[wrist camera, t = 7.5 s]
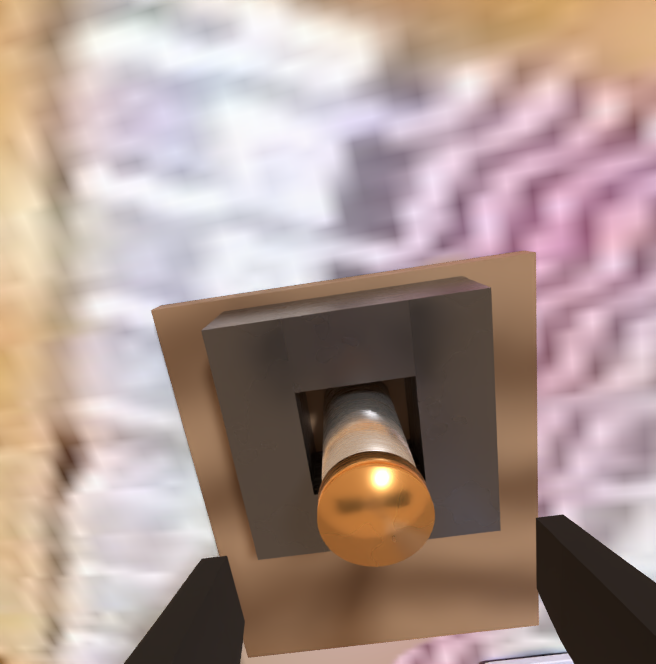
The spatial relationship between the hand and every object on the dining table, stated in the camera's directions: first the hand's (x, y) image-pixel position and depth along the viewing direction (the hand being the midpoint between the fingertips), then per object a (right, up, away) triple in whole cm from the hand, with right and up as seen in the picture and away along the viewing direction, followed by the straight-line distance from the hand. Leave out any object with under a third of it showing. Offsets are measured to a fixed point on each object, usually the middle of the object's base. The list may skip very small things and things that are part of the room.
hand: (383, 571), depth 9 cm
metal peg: (0, +2, +8) cm, 9 cm away
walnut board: (+1, -2, +11) cm, 11 cm away
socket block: (0, +3, +9) cm, 10 cm away
